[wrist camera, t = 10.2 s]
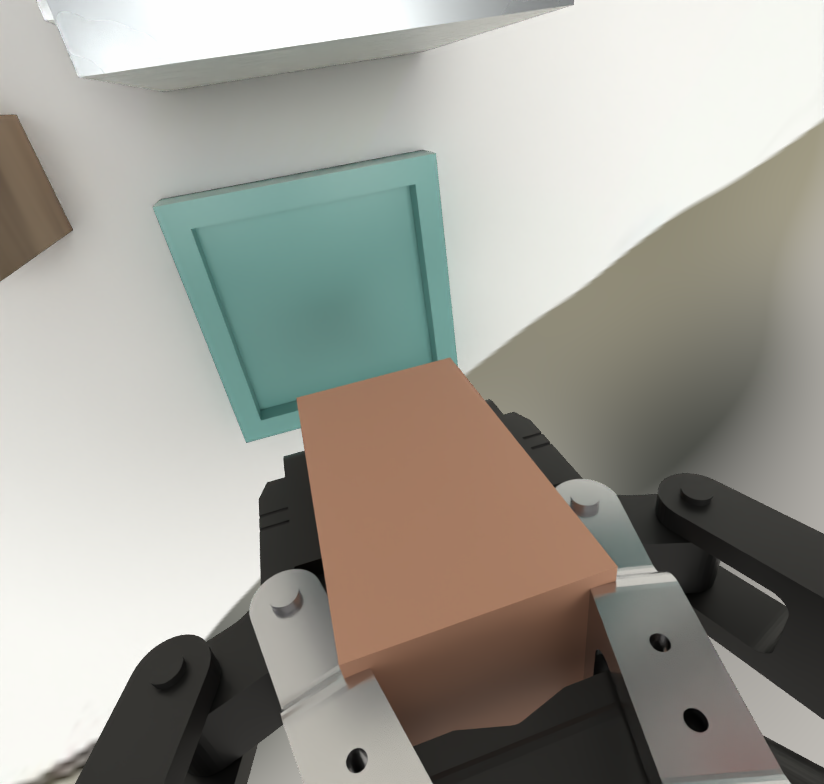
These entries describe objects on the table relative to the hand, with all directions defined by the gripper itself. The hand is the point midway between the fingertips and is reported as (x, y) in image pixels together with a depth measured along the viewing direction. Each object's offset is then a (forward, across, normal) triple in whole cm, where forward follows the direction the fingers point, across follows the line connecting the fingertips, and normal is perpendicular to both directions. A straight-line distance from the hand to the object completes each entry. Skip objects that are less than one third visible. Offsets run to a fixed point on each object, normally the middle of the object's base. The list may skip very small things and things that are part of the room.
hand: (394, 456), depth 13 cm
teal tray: (+13, 0, 0) cm, 13 cm away
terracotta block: (+1, 0, 0) cm, 1 cm away
